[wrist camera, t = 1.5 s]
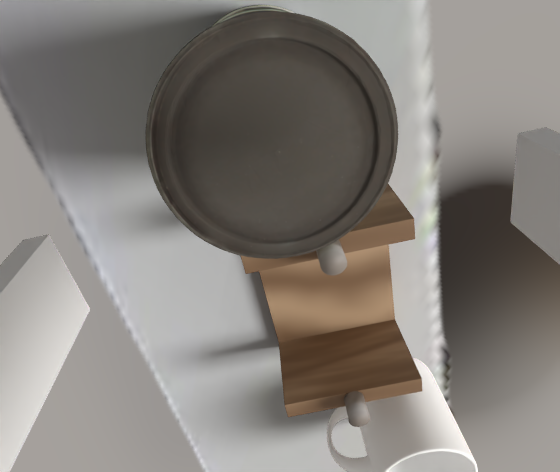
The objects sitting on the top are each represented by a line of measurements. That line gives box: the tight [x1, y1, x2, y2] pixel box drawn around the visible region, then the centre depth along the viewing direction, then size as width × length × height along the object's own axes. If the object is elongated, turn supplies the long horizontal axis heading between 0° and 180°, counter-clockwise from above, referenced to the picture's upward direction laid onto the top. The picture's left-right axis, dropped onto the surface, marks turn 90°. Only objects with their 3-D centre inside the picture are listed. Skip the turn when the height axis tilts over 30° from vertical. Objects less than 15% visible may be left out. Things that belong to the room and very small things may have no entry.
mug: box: [327, 357, 478, 472], centre depth 41 cm, size 9×12×11 cm
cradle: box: [240, 184, 422, 427], centre depth 33 cm, size 16×11×10 cm
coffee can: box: [146, 5, 398, 259], centre depth 24 cm, size 10×10×14 cm
